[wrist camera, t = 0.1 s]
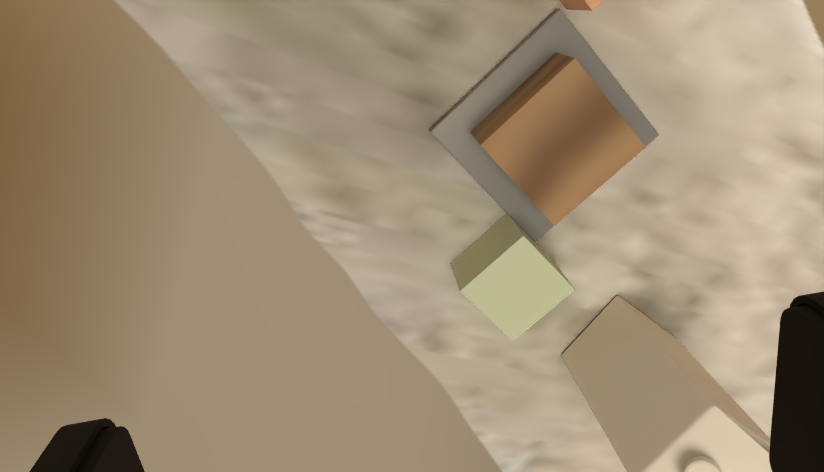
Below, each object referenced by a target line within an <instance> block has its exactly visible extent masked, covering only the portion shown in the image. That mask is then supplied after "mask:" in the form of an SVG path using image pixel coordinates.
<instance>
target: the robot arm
mask: <svg viewBox="0 0 824 472" xmlns="http://www.w3.org/2000/svg"><path fill="white" fill-rule="evenodd" d="M769 462H770V466H771V469H772V472H824V292H819V293H813V294H807V295H802V296H798V297H796V298H794V299H793V301H792V303H791V304H790V308H788V309H786V310H784V312H783V313H782V315H781V320H780V332H779V344H778V355H777V367H776V379H775V391H774V403H773V415H772V427H771V438H770V450H769ZM30 472H144V469H143V466H142V464H141V461H140V459H139V456H138V454H137V451H136V449H135V446H134V444H133V441H132V439H131V436H130V434H129V432H128V430H127V429H126V428H125V427H121V426H120V427H116V426H115V424H114V423H113V422H112V421H111V420H110V419H106V418H104V419H99V420H93V421H87V422H82V423H76V424H70V425H66V426H63V427H61V428H60V429H59V430H58V431H57V433H56V434H55V435H54V437H53V438H52V440H51V441H50V443H49V444H48V446H47V447H46V448H45V450H44V451H43V453H42V454H41V456H40V457H39V459H38V460H37V462H36V463H35V465H34V466H33V468H32V469H31V470H30Z"/></svg>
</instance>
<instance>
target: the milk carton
mask: <svg viewBox="0 0 824 472" xmlns="http://www.w3.org/2000/svg"><path fill="white" fill-rule="evenodd" d="M562 358H563V360H564V362H565V364H566V365H567V367H568V369H569V371H570V372H571V374H572V376H573V378H574V379H575V381H576V383H577V385H578V386H579V388H580V390H581V392H582V393H583V395H584V397H585V399H586V400H587V402H588V404H589V406H590V407H591V409H592V411H593V413H594V414H595V416H596V418H597V420H598V421H599V423H600V425H601V427H602V428H603V430H604V432H605V434H606V435H607V437H608V439H609V441H610V442H611V444H612V446H613V448H614V449H615V451H616V453H617V455H618V456H619V458H620V460H621V461H622V463H623V465H624V467H625V468H626V470H627V472H772V469H771V466H770V462H769V450H770V438H769V437H768V436H767V435H766V434H765V433H764V432H763V431H762V430H761V428H760V427H759V426H758V425H757V424H756V423H755V422H754V421H753V420H752V419H751V418H750V417H749V416H748V415H747V414H746V412H745V411H744V410H743V409H742V408H741V407H740V406H739V405H738V404H737V403H736V402H735V401H734V400H733V399H732V398H731V396H730V395H729V394H728V393H727V392H726V391H725V390H724V389H723V388H722V387H721V386H720V385H719V384H718V383H717V381H716V380H715V379H714V378H713V377H712V376H711V375H710V374H709V373H708V372H707V371H706V370H705V369H704V368H703V367H702V365H701V364H700V363H699V362H698V361H697V360H696V359H695V358H694V357H693V356H692V355H691V354H690V353H689V352H688V351H687V349H686V348H685V347H684V346H683V345H682V344H681V343H680V342H679V341H678V340H677V339H676V338H675V337H674V336H673V335H671V334H670V333H669V332H667V331H666V330H664V329H663V328H662V327H660V326H659V325H658V324H656V323H655V322H654V321H652V320H651V319H649V318H648V317H647V316H645V315H644V314H643V313H641V312H640V311H639V310H637V309H636V308H635V307H633V306H632V305H630V304H629V303H628V302H626V301H625V300H624V299H622V298H621V297H620V296H616V297H615V298H614V299H613V300H612V301H611V302H610V303H609V304H608V305H607V306H606V308H605V309H604V310H603V311H602V312H601V313H600V314H599V315H598V316H597V317H596V318H595V319H594V320H593V322H592V323H591V324H590V325H589V326H588V327H587V328H586V329H585V330H584V331H583V332H582V333H581V335H580V336H579V337H578V338H577V339H576V340H575V341H574V342H573V343H572V344H571V345H570V346H569V347H568V349H567V350H566V351H565V352H564V353H563V354H562Z"/></svg>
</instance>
